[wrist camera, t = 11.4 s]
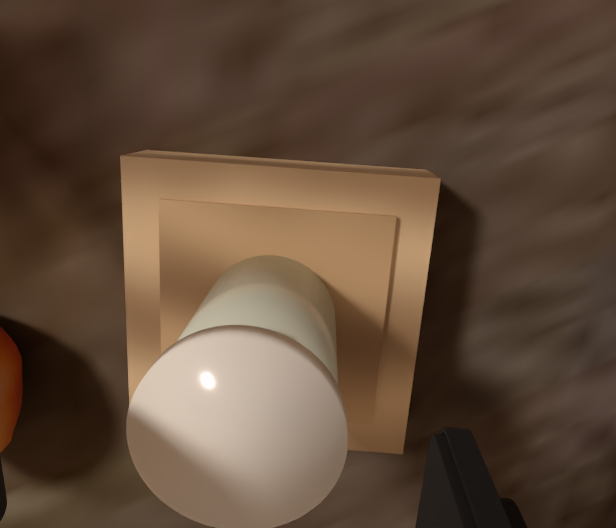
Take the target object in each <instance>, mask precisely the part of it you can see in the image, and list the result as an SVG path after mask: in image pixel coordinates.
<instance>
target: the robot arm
mask: <svg viewBox="0 0 616 528" xmlns="http://www.w3.org/2000/svg"><path fill="white" fill-rule="evenodd" d="M6 506H7V498H6V491H5V485H4V478H3V471H2V465H1V458H0V521H1V519H2V518H3V516H4V513H5V510H6ZM416 528H527V526H526V524H525V522H524V520H523V517H522V515H521V513H520V511H519V509H518V507H517V505H516V504H515V502H514V501H513V500H511V499H508V498H499V496H498V493H497V491H496V489H495V486H494V484H493V481H492V479H491V477H490V474H489V472H488V470H487V467H486V465H485V463H484V460H483V458H482V456H481V453H480V451H479V448H478V446H477V444H476V441H475V439H474V437H473V434H472V432H471V431H470V430H469V429H460V428H447V427H443V428H441V430H440V434H432V435H431V438H430V444H429V450H428V456H427V462H426V468H425V474H424V480H423V486H422V492H421V498H420V504H419V510H418V516H417V522H416Z"/></svg>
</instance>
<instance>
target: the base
mask: <svg viewBox="0 0 616 528" xmlns="http://www.w3.org/2000/svg"><path fill="white" fill-rule="evenodd" d="M120 161H121V188H122V216H123V243H124V271H125V298H126V325H127V353H128V380H129V405H130V403H131V400H132V397H133V394H134V392H135V391H136V389H137V387H138V385H139V383H140V382H141V380H142V379H143V377H144V376H145V375H146V373H147V372H148V370H149V369H150V367H151V366H152V365H153V363H154V362H155V361H156V359H157V358H158V357H159V356H160V355H161V354H162V353H163V352H164V351H165V350H166V349H167V348H169V347H170V346H171V345H173V344H174V343H175V342H177V340H178V339H179V337H180V336H181V334H182V333H183V331H184V330H185V328H186V326H187V325H188V323H189V322H190V320H191V319H192V317H193V316H194V314H195V313H196V311H197V310H198V308H199V307H200V305H201V304H202V302H203V300H204V299H205V297H206V296H207V294H208V293H209V291H210V290H211V288H212V287H213V285H214V284H215V282H216V281H217V280H218V278H219V277H220V276H221V275H222V274H223V273H224V272H225V271H226V270H227V269H228V268H230V267H231V266H232V265H234V264H236V263H238V262H240V261H242V260H245V259H247V258H251V257H255V256H262V255H275V256H282V257H286V258H290V259H293V260H295V261H298V262H300V263H301V264H303V265H305V266H307V267H308V268H309V269H311V270H312V271H313V272H314V273H315V274H316V275H318V276H319V277H320V279H321V280H322V281H323V282H324V284H325V285H326V287H327V289H328V290H329V292H330V295H331V297H332V300H333V303H334V308H335V319H336V346H337V374H338V386H339V389H340V391H341V393H342V396H343V400H344V404H345V409H346V416H347V431H348V449H347V450H355V451H367V452H380V453H392V454H403V448H404V441H405V434H406V427H407V420H408V412H409V405H410V398H411V391H412V383H413V376H414V369H415V362H416V355H417V347H418V340H419V333H420V326H421V319H422V311H423V304H424V297H425V290H426V283H427V275H428V268H429V261H430V254H431V246H432V239H433V232H434V225H435V218H436V210H437V203H438V196H439V189H440V182H441V178H439V177H437V176H436V175H434V174H433V173H431V172H429V171H428V170H423V169H409V168H395V167H381V166H367V165H353V164H339V163H325V162H311V161H297V160H283V159H269V158H255V157H241V156H227V155H213V154H199V153H185V152H170V151H156V150H144V151H140V152H135V153H131V154H126V155H122V156H120Z"/></svg>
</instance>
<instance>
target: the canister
mask: <svg viewBox="0 0 616 528" xmlns="http://www.w3.org/2000/svg"><path fill="white" fill-rule="evenodd" d="M126 434H127V443H128V447H129V451H130V455H131V458H132V460H133V463H134V465H135V467H136V469H137V471H138V473H139V474H140V476H141V478H142V479H143V481H144V482H145V483H146V485H147V486H148V487H149V488H150V490H151V491H152V492H153V493H154V494H155V495H156V496H157V497H158V498H159V499H160V500H161V501H163V502H164V503H165V504H166V505H168V506H169V507H170V508H172V509H173V510H175V511H177V512H178V513H180V514H181V515H183V516H185V517H187V518H189V519H191V520H194V521H196V522H199V523H202V524H205V525H207V526H212V527H216V528H273V527H276V526H280V525H283V524H286V523H288V522H291V521H293V520H295V519H297V518H299V517H301V516H303V515H304V514H306V513H308V512H309V511H311V510H312V509H313V508H314V507H316V506H317V505H318V504H319V503H320V502H321V501H322V500H323V499H324V498H325V497H326V496H327V495H328V494H329V493H330V491H331V490H332V488H333V487H334V486H335V484H336V482H337V480H338V478H339V477H340V475H341V473H342V470H343V467H344V464H345V460H346V455H347V449H348V431H347V416H346V409H345V404H344V400H343V396H342V393H341V391H340V389H339V386H338V374H337V346H336V319H335V308H334V303H333V300H332V297H331V295H330V292H329V290H328V289H327V287H326V285H325V284H324V282H323V281H322V280H321V279H320V277H319V276H318V275H316V274H315V273H314V272H313V271H312V270H311V269H309V268H308V267H307V266H305V265H303V264H301V263H300V262H298V261H295V260H293V259H290V258H286V257H282V256H275V255H262V256H255V257H251V258H247V259H245V260H242V261H240V262H238V263H236V264H234V265H232V266H231V267H230V268H228V269H227V270H226V271H225V272H224V273H223V274H222V275H221V276H220V277H219V278H218V280H217V281H216V282H215V284H214V285H213V287H212V288H211V290H210V291H209V293H208V294H207V296H206V297H205V299H204V300H203V302H202V304H201V305H200V307H199V308H198V310H197V311H196V313H195V314H194V316H193V317H192V319H191V320H190V322H189V323H188V325H187V326H186V328H185V330H184V331H183V333H182V334H181V336H180V337H179V339H178V340H177V342H175V343H174V344H173V345H171V346H170V347H169V348H167V349H166V350H165V351H164V352H163V353H162V354H161V355H160V356H159V357H158V358H157V359H156V361H155V362H154V363H153V365H152V366H151V367H150V369H149V370H148V372H147V373H146V375H145V376H144V377H143V379H142V380H141V382H140V383H139V385H138V387H137V389H136V391H135V392H134V394H133V397H132V400H131V403H130V405H129V409H128V415H127V424H126Z"/></svg>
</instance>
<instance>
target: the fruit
mask: <svg viewBox="0 0 616 528" xmlns="http://www.w3.org/2000/svg"><path fill="white" fill-rule="evenodd" d="M22 397H23V381H22V358H21V354H20V352H19V350H18V348H17V346H16V344H15V343H14V341H13V340H12V339H11V337H10V336H9V335H8V334H7V333H6V332H5V330H4V329H3V328H2V327H1V326H0V453H1V452H2V451H3V450H4V449H5V447H6V446H7V445H8V444H9V443H10V442H11V439H12V435H13V432H14V429H15V426H16V423H17V420H18V417H19V414H20V410H21V406H22Z"/></svg>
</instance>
